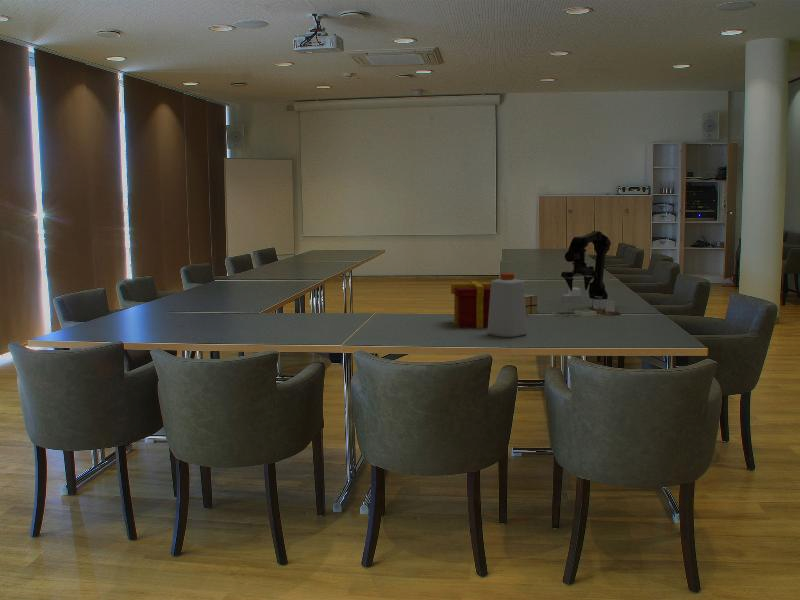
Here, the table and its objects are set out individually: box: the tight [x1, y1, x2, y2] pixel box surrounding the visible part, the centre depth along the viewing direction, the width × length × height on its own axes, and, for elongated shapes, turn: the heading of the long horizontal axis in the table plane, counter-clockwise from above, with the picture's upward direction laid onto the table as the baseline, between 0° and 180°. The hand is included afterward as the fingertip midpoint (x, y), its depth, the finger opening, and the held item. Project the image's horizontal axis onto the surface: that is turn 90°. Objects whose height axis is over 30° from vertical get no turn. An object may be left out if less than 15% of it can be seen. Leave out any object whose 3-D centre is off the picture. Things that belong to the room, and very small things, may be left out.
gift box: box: [450, 280, 491, 329], centre depth 392 cm, size 25×25×20 cm
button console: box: [574, 309, 598, 317], centre depth 413 cm, size 8×8×3 cm
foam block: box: [561, 286, 582, 303], centre depth 474 cm, size 10×10×8 cm
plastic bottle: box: [486, 272, 528, 339], centre depth 362 cm, size 15×15×28 cm
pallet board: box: [588, 308, 622, 317], centre depth 416 cm, size 18×10×3 cm, turn 22°
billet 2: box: [605, 300, 616, 313], centre depth 412 cm, size 4×4×7 cm
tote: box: [550, 310, 575, 317], centre depth 419 cm, size 11×11×1 cm
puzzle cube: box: [525, 293, 538, 315], centre depth 426 cm, size 10×10×10 cm
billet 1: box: [592, 299, 607, 311], centre depth 420 cm, size 4×4×7 cm
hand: (578, 290), depth 420 cm, fingers open, 9 cm apart
